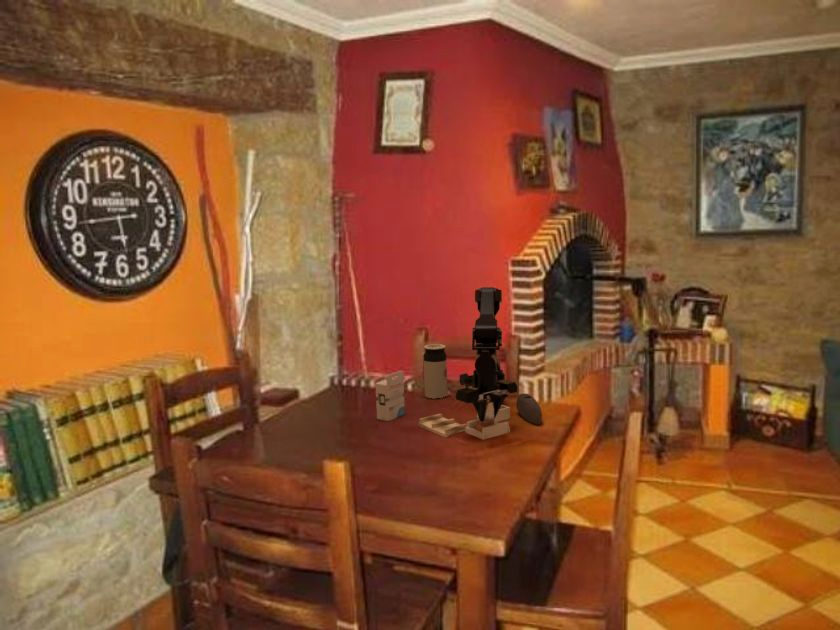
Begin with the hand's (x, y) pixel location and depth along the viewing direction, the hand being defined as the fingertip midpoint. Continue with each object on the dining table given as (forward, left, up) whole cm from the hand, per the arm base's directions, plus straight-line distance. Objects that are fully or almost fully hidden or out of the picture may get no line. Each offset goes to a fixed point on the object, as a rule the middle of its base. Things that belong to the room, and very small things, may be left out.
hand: (487, 419), depth 188 cm
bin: (-10, -9, -4) cm, 14 cm away
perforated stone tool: (-18, -1, -4) cm, 19 cm away
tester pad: (0, 0, -4) cm, 5 cm away
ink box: (+13, -32, -4) cm, 35 cm away
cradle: (0, 0, -4) cm, 4 cm away
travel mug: (-12, -42, -4) cm, 44 cm away
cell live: (0, 0, -2) cm, 2 cm away
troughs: (+7, -12, -4) cm, 14 cm away
